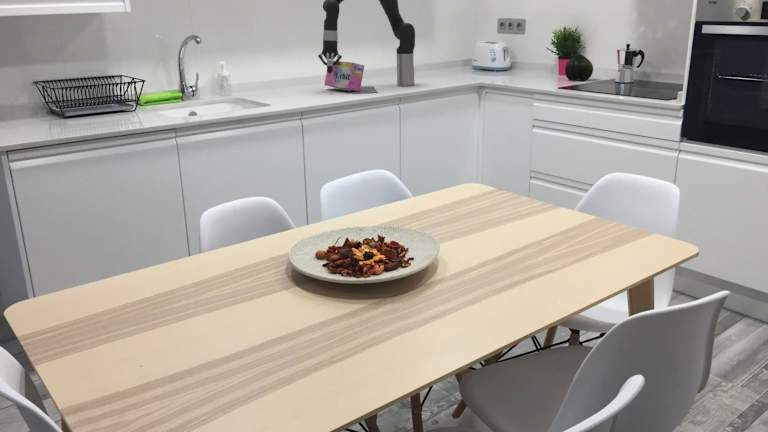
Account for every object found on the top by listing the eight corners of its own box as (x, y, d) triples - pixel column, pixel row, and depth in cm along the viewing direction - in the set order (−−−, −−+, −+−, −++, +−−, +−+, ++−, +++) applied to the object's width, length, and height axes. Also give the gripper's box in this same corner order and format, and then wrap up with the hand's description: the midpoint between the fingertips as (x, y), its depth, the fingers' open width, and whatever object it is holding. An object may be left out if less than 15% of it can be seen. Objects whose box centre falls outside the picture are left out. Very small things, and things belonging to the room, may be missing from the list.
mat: (373, 86, 376) (373, 86, 376) (377, 92, 352) (377, 92, 352) (349, 87, 375) (349, 86, 375) (352, 93, 351) (352, 93, 351)
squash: (579, 72, 367) (591, 50, 370) (556, 72, 378) (567, 50, 381) (590, 88, 376) (601, 66, 380) (567, 87, 387) (577, 65, 390)
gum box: (322, 85, 369) (326, 59, 367) (333, 87, 374) (338, 62, 372) (348, 88, 351) (353, 62, 349) (360, 91, 356) (365, 65, 355)
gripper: (342, 39, 359) (341, 73, 364) (317, 38, 357) (316, 72, 363) (343, 40, 352) (342, 74, 357) (317, 39, 350) (317, 73, 355)
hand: (329, 73), depth 360 cm, fingers closed
